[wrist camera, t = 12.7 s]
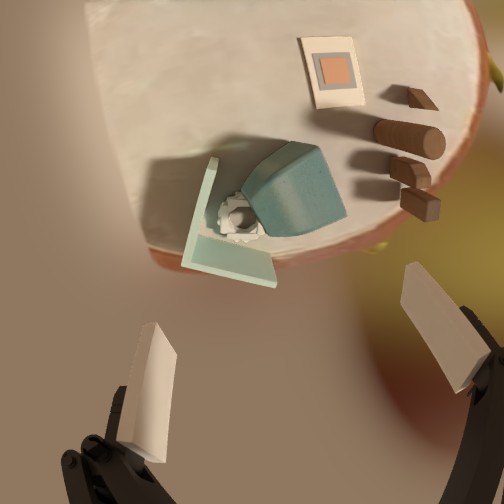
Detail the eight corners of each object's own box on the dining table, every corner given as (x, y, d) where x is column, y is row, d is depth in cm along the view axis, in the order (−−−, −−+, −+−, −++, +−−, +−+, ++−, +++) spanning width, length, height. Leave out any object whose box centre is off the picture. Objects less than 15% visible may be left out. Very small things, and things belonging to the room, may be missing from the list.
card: (300, 38, 25) (301, 37, 25) (350, 37, 25) (352, 36, 25) (316, 109, 30) (317, 109, 30) (364, 104, 30) (366, 104, 30)
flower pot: (229, 173, 33) (291, 139, 32) (261, 228, 37) (317, 196, 37) (239, 188, 25) (320, 145, 25) (279, 258, 29) (348, 217, 29)
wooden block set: (415, 200, 38) (458, 225, 29) (373, 207, 37) (416, 236, 28) (414, 89, 29) (465, 92, 20) (368, 84, 29) (418, 81, 20)
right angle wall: (267, 257, 41) (275, 288, 34) (188, 237, 38) (180, 265, 32) (298, 183, 36) (314, 202, 29) (211, 155, 33) (206, 168, 26)
